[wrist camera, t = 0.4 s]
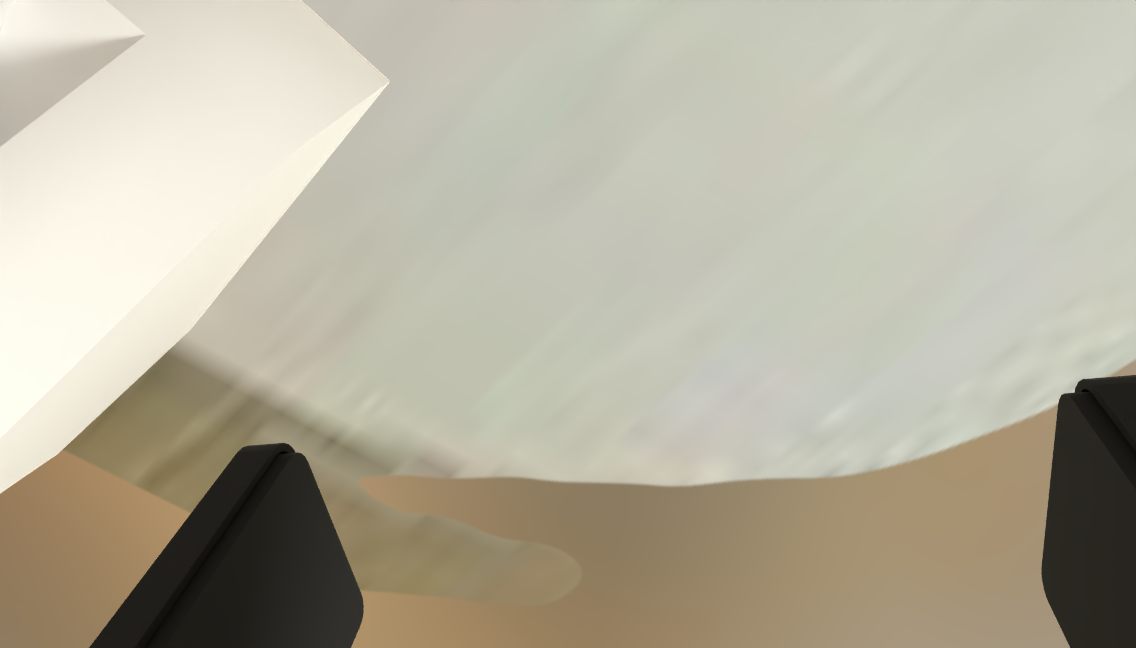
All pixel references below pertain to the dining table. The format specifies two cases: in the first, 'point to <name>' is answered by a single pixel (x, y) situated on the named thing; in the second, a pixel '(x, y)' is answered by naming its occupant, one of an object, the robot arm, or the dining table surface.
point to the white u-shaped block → (144, 183)
